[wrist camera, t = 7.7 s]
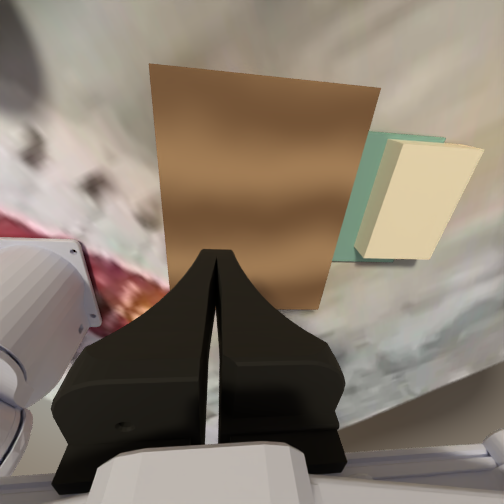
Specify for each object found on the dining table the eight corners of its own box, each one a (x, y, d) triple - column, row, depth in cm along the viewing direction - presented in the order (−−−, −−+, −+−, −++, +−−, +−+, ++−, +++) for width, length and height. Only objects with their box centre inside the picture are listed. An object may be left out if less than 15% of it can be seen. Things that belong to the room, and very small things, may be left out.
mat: (391, 260, 26) (392, 262, 25) (310, 258, 25) (311, 260, 25) (443, 137, 20) (445, 138, 20) (341, 128, 19) (342, 129, 19)
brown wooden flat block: (305, 280, 26) (318, 309, 23) (178, 278, 25) (171, 309, 21) (351, 87, 18) (381, 88, 14) (164, 68, 16) (148, 63, 13)
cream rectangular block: (363, 258, 22) (353, 246, 24) (429, 259, 23) (415, 247, 25) (403, 143, 18) (387, 138, 19) (484, 149, 18) (462, 144, 20)
